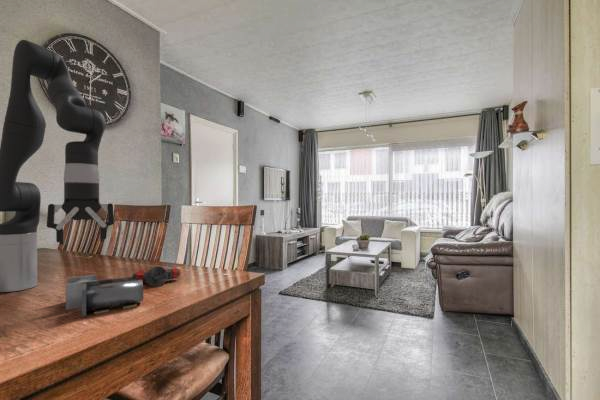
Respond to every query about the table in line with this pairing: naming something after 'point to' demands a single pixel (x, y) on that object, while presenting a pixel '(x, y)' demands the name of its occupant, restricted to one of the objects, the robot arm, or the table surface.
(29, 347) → the table surface
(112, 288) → the pipe stub
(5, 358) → the table surface
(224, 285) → the table surface
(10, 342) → the table surface
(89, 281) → the coupling
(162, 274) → the valve
